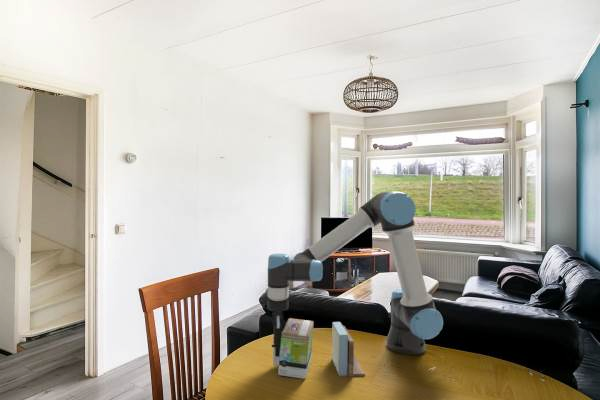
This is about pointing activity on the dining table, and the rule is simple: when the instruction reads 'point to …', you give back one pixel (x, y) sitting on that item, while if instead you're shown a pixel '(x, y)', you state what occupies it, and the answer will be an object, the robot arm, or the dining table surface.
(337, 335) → the book
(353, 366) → the bookend
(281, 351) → the tea box
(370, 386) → the dining table surface
